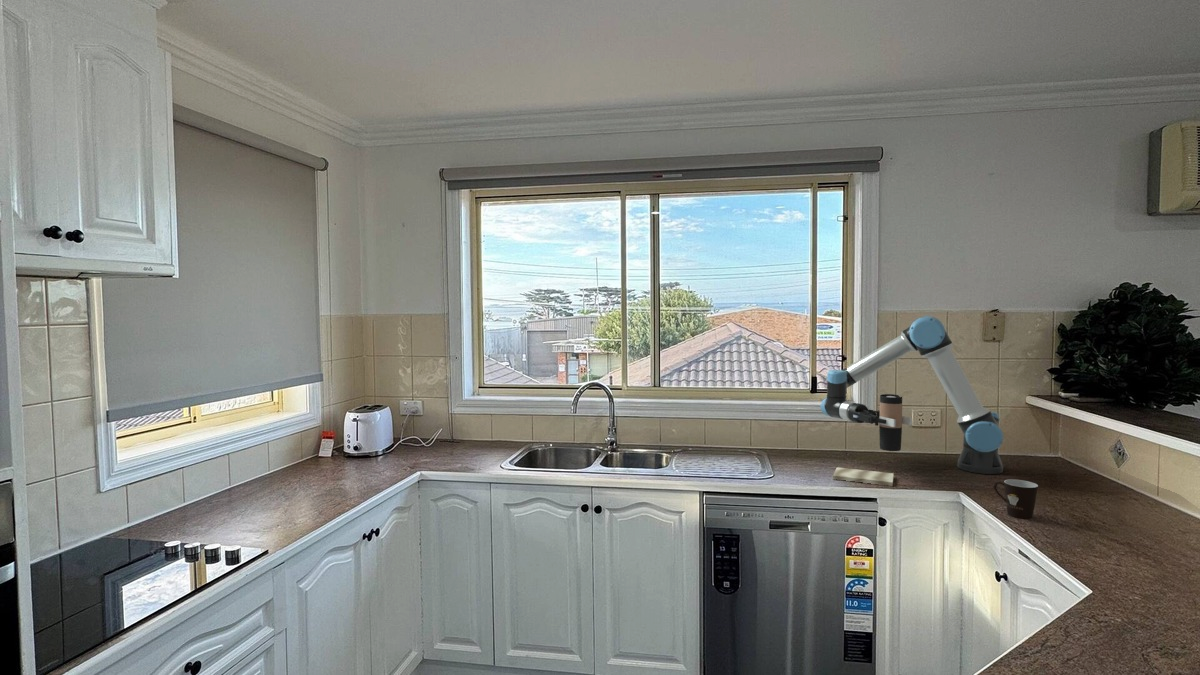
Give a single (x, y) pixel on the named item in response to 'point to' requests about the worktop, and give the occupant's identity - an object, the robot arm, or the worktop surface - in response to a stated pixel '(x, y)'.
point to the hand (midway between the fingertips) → (902, 422)
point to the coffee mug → (1019, 498)
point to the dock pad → (864, 476)
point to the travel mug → (888, 434)
